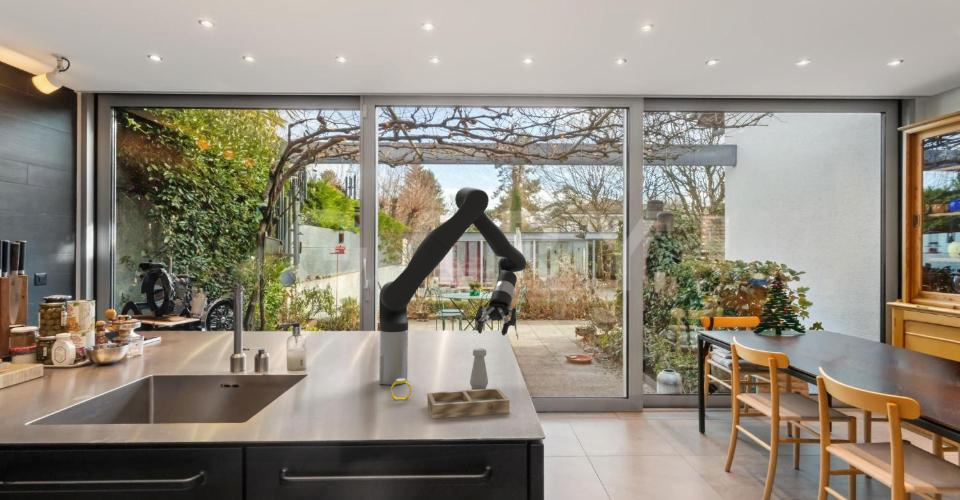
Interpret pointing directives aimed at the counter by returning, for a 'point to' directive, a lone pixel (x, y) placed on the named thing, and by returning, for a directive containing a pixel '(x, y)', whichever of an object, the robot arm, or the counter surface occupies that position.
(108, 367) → the counter surface
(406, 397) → the watch
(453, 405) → the tray
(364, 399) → the counter surface
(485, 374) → the salt shaker
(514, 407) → the counter surface
